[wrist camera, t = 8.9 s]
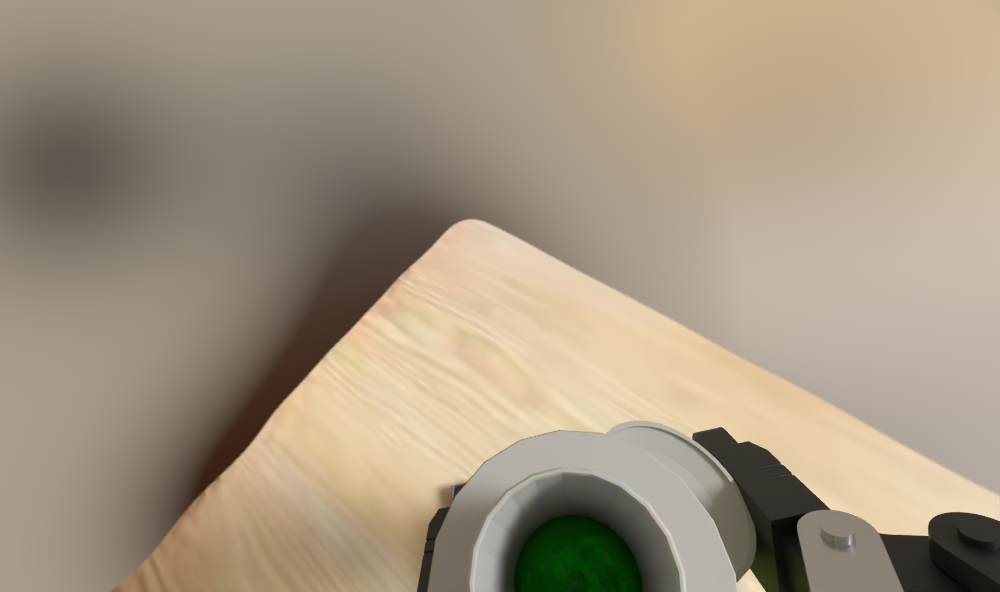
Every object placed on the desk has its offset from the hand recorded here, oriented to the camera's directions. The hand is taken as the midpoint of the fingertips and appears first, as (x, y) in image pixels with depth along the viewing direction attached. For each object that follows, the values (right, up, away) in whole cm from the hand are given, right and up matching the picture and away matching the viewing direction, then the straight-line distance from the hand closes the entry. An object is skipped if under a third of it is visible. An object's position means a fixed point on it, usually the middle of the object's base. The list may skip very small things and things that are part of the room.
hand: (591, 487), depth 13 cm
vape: (+2, -7, +8) cm, 11 cm away
